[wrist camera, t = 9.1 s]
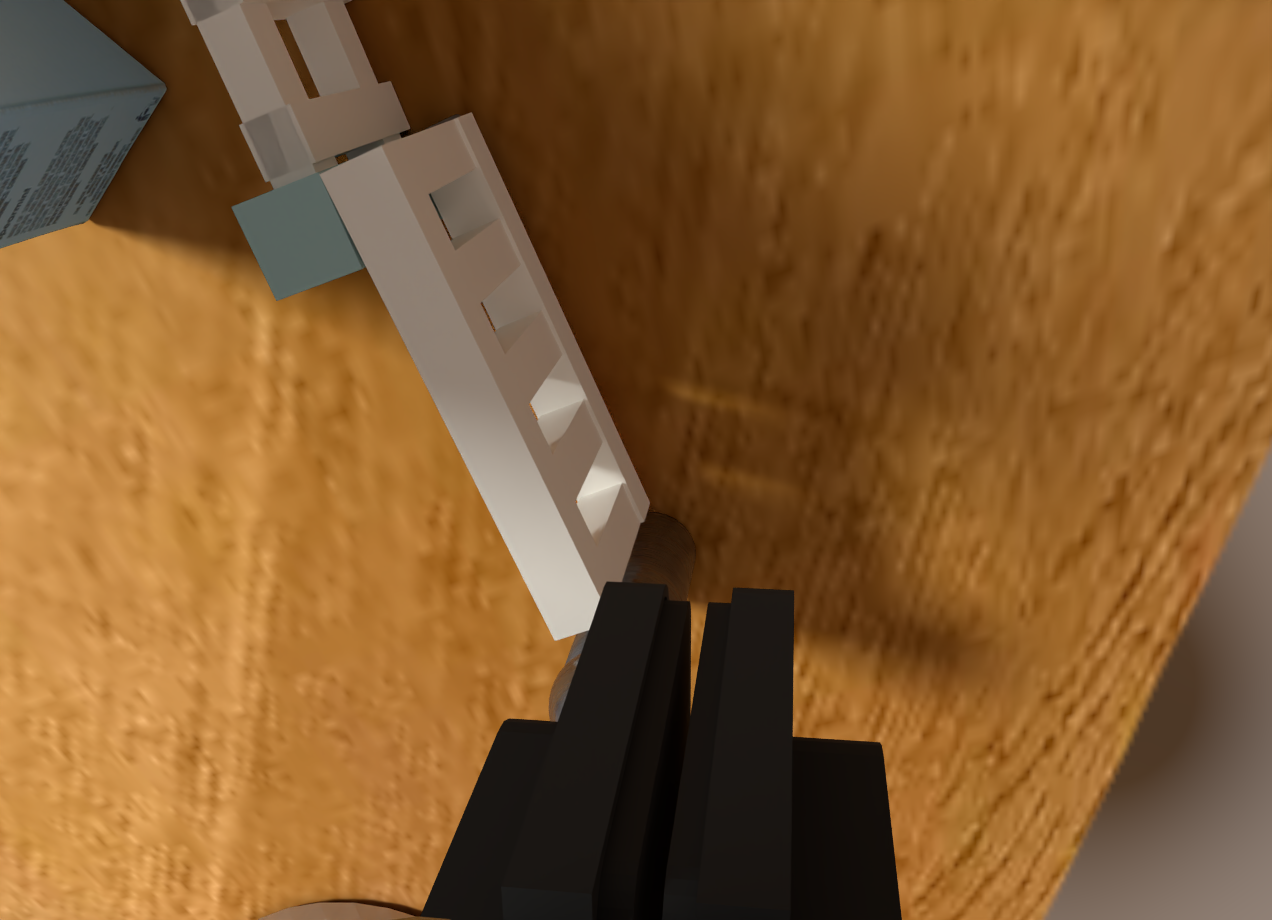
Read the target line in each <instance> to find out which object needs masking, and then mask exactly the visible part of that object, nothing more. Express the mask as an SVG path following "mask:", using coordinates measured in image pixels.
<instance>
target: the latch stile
mask: <svg viewBox="0 0 1272 920" xmlns="http://www.w3.org/2000/svg"><path fill="white" fill-rule="evenodd" d="M346 162H347V161H346ZM344 163H345V162H344ZM341 164H343V163H341ZM341 164H338V165H341ZM338 165H336V166H338ZM336 166H333V167H330V168H328V169H325V170H322V171H320V172H317V173H314V174H312V175H309V176H307V177H305V178H302V179H300V180H297V181H295V182H292V183H290V184H287V185H285V186H282V187H280V188H277V189H275V190H272V191H270V192H267V193H265V194H262V195H260V196H257V197H255V198H252V199H250V200H247V201H245V202H242V203H240V204H237V205H235V206H232V210H233V212H234V214H235V216H236V218H237V220H238V222H239V224H240V226H241V228H242V230H243V232H244V234H245V237H246V239H247V241H248V243H249V245H250V247H251V249H252V251H253V253H254V255H255V257H256V259H257V261H258V263H259V266H260V268H261V270H262V272H263V274H264V276H265V278H266V280H267V282H268V284H269V286H270V288H271V290H272V293H273V295H274V297H275V299H276V301H278V300H280V299H283V298H286V297H289V296H291V295H294V294H297V293H299V292H302V291H305V290H307V289H310V288H313V287H315V286H318V285H321V284H323V283H326V282H329V281H331V280H334V279H337V278H340V277H342V276H345V275H348V274H350V273H353V272H356V271H358V270H361V269H363V268H365V267H366V266H365V264H364V262H363V260H362V258H361V256H360V254H359V252H358V250H357V248H356V246H355V244H354V242H353V240H352V238H351V236H350V234H349V232H348V230H347V228H346V226H345V224H344V222H343V220H342V218H341V216H340V214H339V212H338V210H337V208H336V206H335V204H334V202H333V200H332V199H331V197H330V195H329V193H328V191H327V189H326V187H325V185H324V183H323V181H322V179H321V177H320V175H319V174H321V173H323V172H326V171H328V170H330V169H332V168H334V167H336ZM428 195H429V197H430V199H431V201H432V203H433V205H434V207H435V209H436V211H437V213H438V216H439V218H440V220H441V219H442V216H441V214H440V212H439V210H438V208H437V206H436V204H435V202H434V200H433V198H432V196H431V193H430V194H428Z"/></svg>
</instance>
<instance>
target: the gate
mask: <svg viewBox="0 0 1272 920" xmlns="http://www.w3.org/2000/svg"><path fill="white" fill-rule="evenodd" d="M319 175H320V177H321V179H322V181H323V183H324V185H325V187H326V189H327V191H328V193H329V195H330V197H331V199H332V200H333V202H334V204H335V206H336V208H337V210H338V212H339V214H340V216H341V218H342V220H343V222H344V224H345V226H346V228H347V230H348V232H349V234H350V236H351V238H352V240H353V242H354V244H355V246H356V248H357V250H358V252H359V254H360V256H361V258H362V260H363V262H364V264H365V266H366V268H367V270H368V272H369V274H370V276H371V278H372V280H373V282H374V284H375V286H376V288H377V290H378V292H379V294H380V296H381V297H382V299H383V301H384V303H385V305H386V307H387V309H388V311H389V313H390V315H391V317H392V319H393V321H394V323H395V325H396V327H397V329H398V331H399V333H400V335H401V337H402V339H403V341H404V343H405V345H406V347H407V349H408V351H409V353H410V355H411V357H412V359H413V361H414V363H415V365H416V367H417V369H418V371H419V373H420V375H421V377H422V379H423V381H424V383H425V385H426V387H427V389H428V391H429V393H430V394H431V396H432V398H433V400H434V402H435V404H436V406H437V408H438V410H439V412H440V414H441V416H442V418H443V420H444V422H445V424H446V426H447V428H448V430H449V432H450V434H451V436H452V438H453V440H454V442H455V444H456V446H457V448H458V450H459V452H460V454H461V456H462V458H463V460H464V462H465V464H466V466H467V468H468V470H469V472H470V474H471V476H472V478H473V480H474V482H475V484H476V486H477V488H478V490H479V491H480V493H481V495H482V497H483V499H484V501H485V503H486V505H487V507H488V509H489V511H490V513H491V515H492V517H493V519H494V521H495V523H496V525H497V527H498V529H499V531H500V533H501V535H502V537H503V539H504V541H505V543H506V545H507V547H508V549H509V551H510V553H511V555H512V557H513V559H514V561H515V563H516V565H517V567H518V569H519V571H520V573H521V575H522V577H523V579H524V581H525V583H526V585H527V587H528V588H529V590H530V592H531V594H532V596H533V598H534V600H535V602H536V604H537V606H538V608H539V610H540V612H541V614H542V616H543V618H544V620H545V622H546V624H547V626H548V628H549V630H550V632H551V634H552V636H553V638H554V640H555V641H556V640H559V639H562V638H566V637H569V636H572V635H575V634H578V633H581V632H585V631H588V630H589V629H590V626H591V623H592V620H593V617H594V614H595V611H596V608H597V605H598V603H599V600H600V597H601V594H602V591H603V588H604V585H605V583H606V581H609V582H622V579H623V576H624V573H625V570H626V567H627V564H628V561H629V558H630V555H631V551H632V548H633V545H634V542H635V539H636V536H637V533H638V530H639V527H640V523H642V522H644V521H645V518H646V514H647V511H648V508H649V505H650V502H649V499H648V497H647V495H646V493H645V491H644V488H643V486H642V484H641V482H640V480H639V477H638V475H637V473H636V471H635V469H634V467H633V464H632V462H631V460H630V458H629V456H628V453H627V451H626V449H625V447H624V445H623V442H622V440H621V438H620V436H619V434H618V432H617V429H616V427H615V425H614V423H613V421H612V418H611V416H610V414H609V412H608V410H607V407H606V405H605V403H604V401H603V399H602V396H601V394H600V392H599V390H598V388H597V386H596V383H595V381H594V379H593V377H592V375H591V372H590V370H589V368H588V366H587V364H586V361H585V359H584V357H583V355H582V353H581V351H580V348H579V346H578V344H577V342H576V340H575V337H574V335H573V333H572V331H571V329H570V326H569V324H568V322H567V320H566V318H565V316H564V313H563V311H562V309H561V307H560V305H559V302H558V300H557V298H556V296H555V294H554V291H553V289H552V287H551V285H550V283H549V281H548V278H547V276H546V274H545V272H544V270H543V267H542V265H541V263H540V261H539V259H538V256H537V254H536V252H535V250H534V248H533V246H532V243H531V241H530V239H529V237H528V235H527V232H526V230H525V228H524V226H523V224H522V221H521V219H520V217H519V215H518V213H517V211H516V208H515V206H514V204H513V202H512V200H511V197H510V195H509V193H508V191H507V189H506V186H505V184H504V182H503V180H502V178H501V176H500V173H499V171H498V169H497V167H496V165H495V162H494V160H493V158H492V156H491V154H490V151H489V149H488V147H487V145H486V143H485V140H484V138H483V136H482V134H481V132H480V130H479V127H478V125H477V123H476V121H475V119H474V116H473V114H472V112H471V113H468V114H465V115H463V116H460V115H458V114H456V115H454V116H451V117H449V118H447V119H445V120H443V121H441V122H438V123H436V124H434V125H432V126H430V127H428V128H426V129H425V130H423V131H420V132H418V133H415V134H412V135H410V136H407V137H404V138H400V139H398V140H395V141H392V142H390V143H387V144H384V145H381V146H379V147H377V148H375V149H373V150H371V151H368V152H366V153H364V154H362V155H360V156H358V157H356V158H353V159H351V160H349V161H347V162H345V163H343V164H341V165H338V166H336V167H334V168H332V169H330V170H328V171H326V172H323V173H321V174H319ZM430 193H431V196H432V198H433V200H434V202H435V204H436V206H437V208H438V210H439V212H440V214H441V216H442V219H443V221H444V223H445V225H446V227H447V229H448V231H449V233H450V235H451V237H452V240H451V241H450V238H449V236H448V234H447V232H446V230H445V228H444V226H443V224H442V222H441V220H440V218H439V216H438V213H437V211H436V209H435V207H434V205H433V203H432V201H431V199H430V197H429V195H428V194H430ZM481 302H483V304H484V306H485V308H486V311H487V313H488V315H489V317H490V319H491V321H492V323H493V325H494V327H495V329H496V331H495V332H494V330H493V328H492V326H491V324H490V322H489V320H488V318H487V316H486V314H485V312H484V310H483V307H482V305H481ZM529 403H531V405H532V407H533V409H534V411H535V413H536V415H537V417H538V421H537V420H536V418H535V416H534V414H533V412H532V410H531V408H530V406H529ZM576 499H577V501H578V503H577V504H576V502H575V501H576Z"/></svg>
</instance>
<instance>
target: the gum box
mask: <svg viewBox="0 0 1272 920" xmlns="http://www.w3.org/2000/svg"><path fill="white" fill-rule="evenodd" d="M166 90H167V88H166V86H165V83H164V82H162V81H161V80H160V79H159V78H157V77H156V76H155V75H153V74H152V73H151V72H150V71H149V70H147V69H146V68H145V67H144V66H143V65H141V64H140V63H139V62H138V61H136V60H135V59H134V58H133V57H132V56H130V55H129V54H128V53H127V52H126V51H124V50H123V49H122V48H121V47H119V46H118V45H117V44H116V43H115V42H113V41H112V40H111V39H110V38H109V37H107V36H106V35H105V34H104V33H103V32H101V31H100V30H99V29H98V28H96V27H95V26H94V25H93V24H92V23H90V22H89V21H88V20H87V19H86V18H84V17H83V16H82V15H81V14H79V13H78V12H77V11H76V10H75V9H73V8H72V7H71V6H70V5H68V4H67V3H66V2H65V1H64V0H0V248H3V247H6V246H9V245H12V244H16V243H19V242H22V241H25V240H28V239H31V238H34V237H37V236H41V235H44V234H47V233H50V232H53V231H57V230H60V229H64V228H67V227H71V226H74V225H79V224H83V223H85V222H86V221H88V220H89V218H90V216H91V215H92V213H93V211H94V210H95V208H96V206H97V205H98V203H99V201H100V199H101V198H102V196H103V194H104V193H105V191H106V189H107V188H108V186H109V184H110V183H111V181H112V179H113V178H114V176H115V174H116V172H117V170H118V169H119V167H120V165H121V163H122V162H123V160H124V158H125V157H126V155H127V153H128V151H129V150H130V148H131V146H132V145H133V143H134V142H135V140H136V138H137V137H138V135H139V134H140V132H141V130H142V129H143V127H144V126H145V124H146V122H147V121H148V119H149V118H150V116H151V114H152V113H153V111H154V110H155V108H156V106H157V105H158V103H159V102H160V100H161V98H162V97H163V95H164V94H165V92H166Z"/></svg>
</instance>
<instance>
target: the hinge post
mask: <svg viewBox="0 0 1272 920" xmlns="http://www.w3.org/2000/svg"><path fill="white" fill-rule="evenodd" d="M695 556H696V550H695V545H694V541H693V539H692V537H691V535H690V533H689V532H688V530H687V529H686V528H685V527H684V526H683V525H682V524H681V523H680V522H678V521H677V520H676V519H674V518H672V517H670V516H667V515H665V514H661V513H655V512H647V514H646V518H645V521H644V522H642V523H640V527H639V530H638V533H637V536H636V539H635V542H634V545H633V548H632V551H631V555H630V558H629V561H628V564H627V567H626V570H625V573H624V576H623V579H622V582H629V583H650V584H667V586H668V592H669V600H674V601H687V597H688V592H689V587H690V582H691V577H692V573H693V568H694V563H695ZM588 632H589V630H588V631H585V632H581V633H578V634H576V637H575V639H574V642H573V645H572V648H571V650H570V653H569V656H568V658H567V661H566V664H565V666H564V668H563V669H562V670H561V671H560V673H559V674H558V676H557V677H556V679H555V681H554V684H553V686H552V689H551V694H550V698H549V717H550V721H555V722H558V719H559V716H560V713H561V710H562V708H563V705H564V702H565V699H566V696H567V693H568V690H569V687H570V684H571V681H572V678H573V675H574V673H575V670H576V667H577V664H578V661H579V658H580V655H581V652H582V649H583V646H584V643H585V640H586V638H587V635H588Z"/></svg>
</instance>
